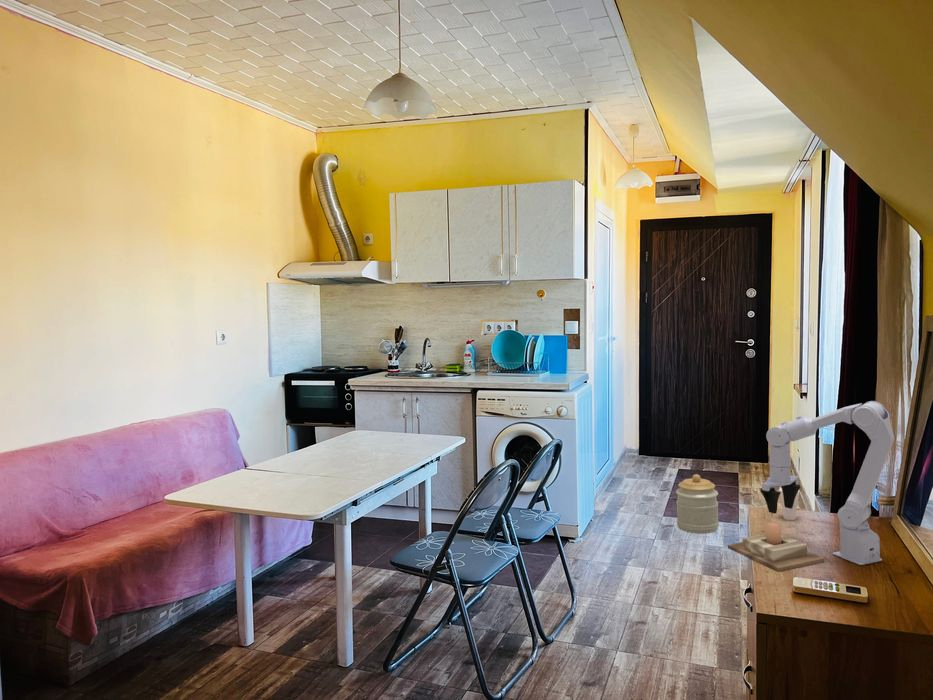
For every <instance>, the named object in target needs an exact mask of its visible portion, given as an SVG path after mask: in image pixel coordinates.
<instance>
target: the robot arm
mask: <svg viewBox="0 0 933 700" xmlns="http://www.w3.org/2000/svg"><path fill="white" fill-rule="evenodd" d="M890 418H891V415H890V412H888V410H887V409H886V407H885V406H884V405H883V404H882V403H880V402H878V401H875V400H870V401H866V402H865V403H862V402H861V403H856V404H852V405H848V406H844V407H841V408H839V409H836V410H833V411H830V412H828V413H827V412H826V413H825V414H822V415H819V416H817V417H814V418H812V417H809V416H807V415H806V416H803V415H799V416H796V419H793V420H791V421H782V422H780V424H778V425H775V426H773V427H771V428H770V429H768V430H767V432H766V434H765V435H766V436H765V437H766V440H767V442H768V443H769V445H768V446H769V453H768V454H769V457H768V458H769V477H767V478H766V481H765V482H762V483H761V487H760V490H759V491H760V493H761V495H762V496H763V498H764V500H765V502H766V503H765V504H766V505H767V510H768V512H769V513H771V514H777V512H778V502H779V498H780V493H781V492H779V490H778V491H777V490H776V489H777V488H782V491H783V496H784V505H785V507H786V508H790V509H792V508H793V504H794V500H795V497H796V495H797V492H798V491H799V490H800V489H801V485H800V484H798V483H799V476H797V475H791V474H792V473H791V469H792V468H791V467H792V466H791V442H796V441H799V440H802V439H806V438H808V437H809V438H810V437H811V436H814V435H815V434H816V433H817V430H819V429H822V428H825V427H829V426H831V425H835V424H838V423H842V422H843V423H846V424H849V425H852V424H855V426H857V427H858V428H859V429H860V430H862V431H863V432H864V433H865V434H866V436H867V437H868V438H869V440H870V444H869V446H868V449H867V452H866V454H865V456H864V457H865V458H864V459H863V462H862V465H861V467H860V469H859V473H858V475H857V477H856V480H855V482H854V485H853V489H852V490H851V493H850V494H849V496H848V497H847V499H846V501H845V504H844V505H843V506H841V507H840V508H839V509H838V512H837V520H838V522H839V551H834V552H832V555H833V556H836V557H839V558H841V559H844V560H846V561H848V562H851V563H854V564H857V565H859V566H864V565H869V564H873V563H878V562H882V561H883V559H882V558H881V556H880V554H881V553H880V552H881V551H880V550H881V542H880V541H881V539H880V536H879V535H878V533H876V532H875V531H873V530H872V529H871V528H870V524H869V522H868V520H869V518H870V516H871V515H872V510H871V503H872V501H873V498H872V497H873V495H874V492H875V489H876V487H877V484H878V482H879V479H880V477H881V474H882V471H883V469H884V467H885V464H886V463H887V460H888V457H889V454H890V452H891V449H892V446H893V444H894V442H895V435H894V432H893V431H894V430H893V427H892V424H891V419H890Z"/></svg>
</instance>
